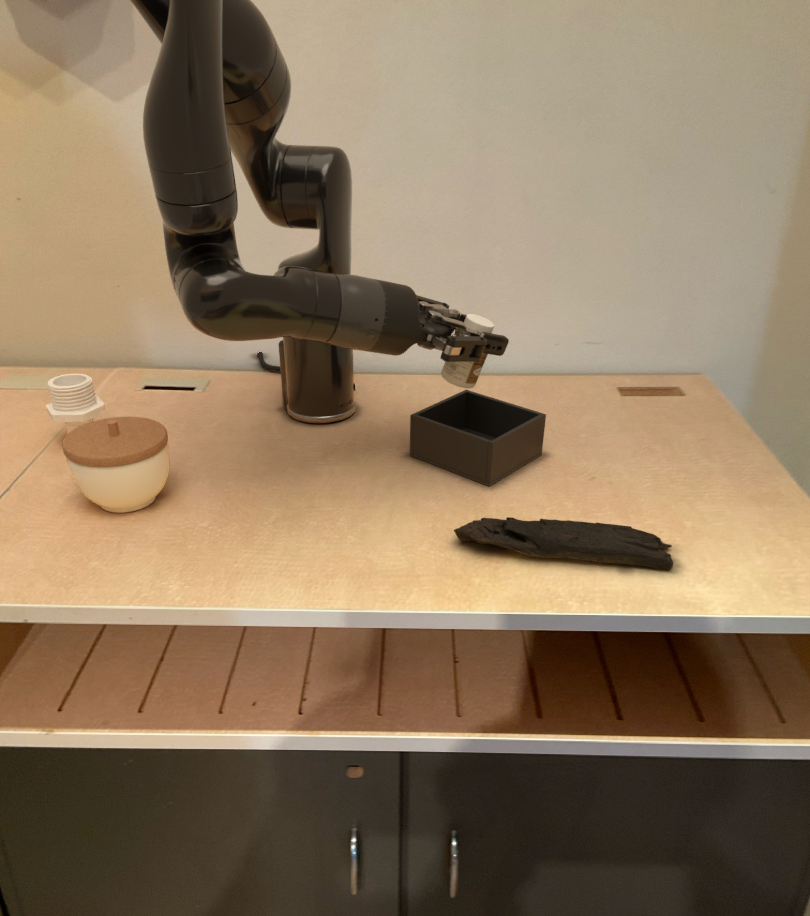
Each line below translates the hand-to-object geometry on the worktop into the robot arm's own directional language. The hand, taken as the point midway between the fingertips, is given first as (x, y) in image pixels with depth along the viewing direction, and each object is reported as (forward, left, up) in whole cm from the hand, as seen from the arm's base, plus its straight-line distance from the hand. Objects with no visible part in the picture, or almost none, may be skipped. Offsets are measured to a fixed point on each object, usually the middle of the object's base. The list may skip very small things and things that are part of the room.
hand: (493, 336), depth 93 cm
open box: (0, -3, -14) cm, 15 cm away
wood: (+19, -14, -15) cm, 28 cm away
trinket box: (-22, -38, -15) cm, 46 cm away
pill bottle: (-2, -4, -5) cm, 7 cm away
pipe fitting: (-40, -33, -15) cm, 54 cm away
